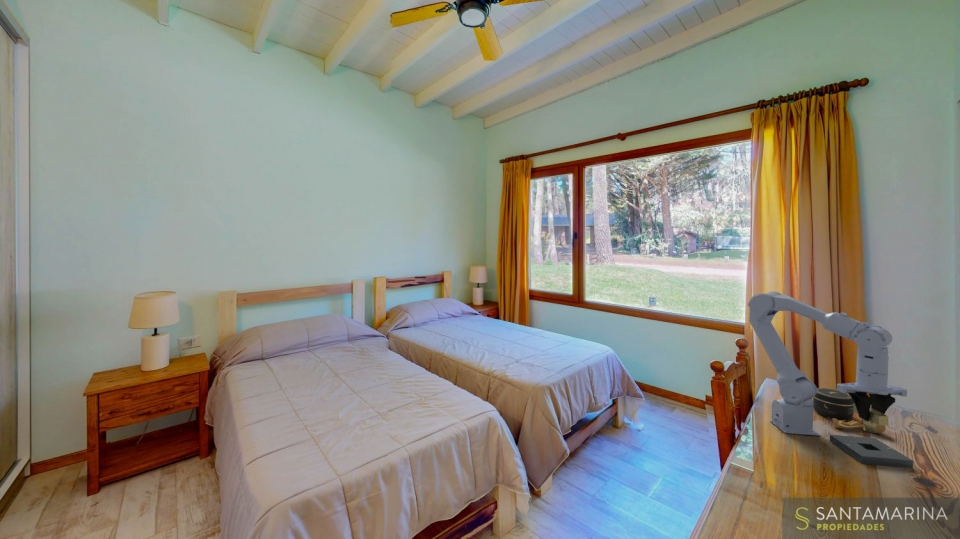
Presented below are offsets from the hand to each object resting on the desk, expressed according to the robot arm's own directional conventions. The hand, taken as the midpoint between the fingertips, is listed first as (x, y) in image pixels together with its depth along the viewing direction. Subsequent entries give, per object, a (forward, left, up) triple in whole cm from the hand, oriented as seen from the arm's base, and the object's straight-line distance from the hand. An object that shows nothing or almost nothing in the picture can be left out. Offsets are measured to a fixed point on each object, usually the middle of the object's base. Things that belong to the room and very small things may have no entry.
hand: (869, 419), depth 96 cm
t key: (0, 0, -3) cm, 3 cm away
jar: (+8, +25, -10) cm, 28 cm away
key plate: (0, 0, -10) cm, 10 cm away
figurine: (+13, +13, -9) cm, 21 cm away
